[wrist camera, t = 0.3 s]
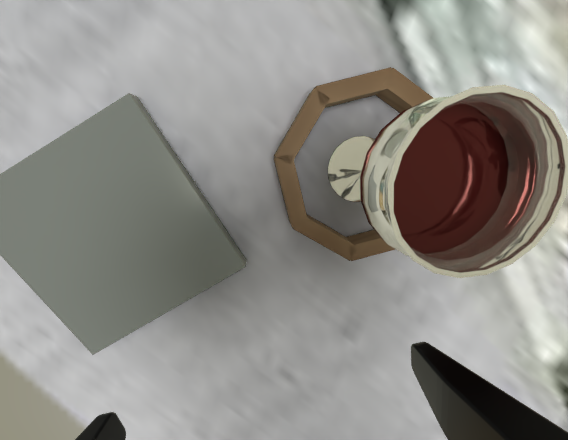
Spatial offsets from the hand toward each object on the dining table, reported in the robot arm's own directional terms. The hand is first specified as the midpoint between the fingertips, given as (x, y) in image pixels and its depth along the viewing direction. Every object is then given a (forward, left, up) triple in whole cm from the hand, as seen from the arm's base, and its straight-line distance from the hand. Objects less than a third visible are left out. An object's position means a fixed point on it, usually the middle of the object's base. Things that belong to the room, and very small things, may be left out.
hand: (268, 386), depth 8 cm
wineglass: (+4, -9, -14) cm, 17 cm away
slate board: (+4, +10, -14) cm, 18 cm away
